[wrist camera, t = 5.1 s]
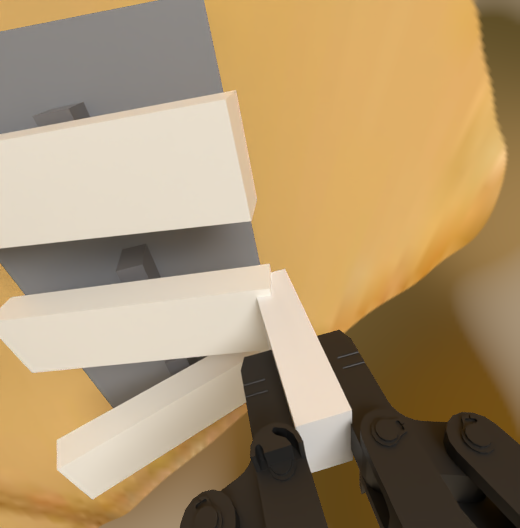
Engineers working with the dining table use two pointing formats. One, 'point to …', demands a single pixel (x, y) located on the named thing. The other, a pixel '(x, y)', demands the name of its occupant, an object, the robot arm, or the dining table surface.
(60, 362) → the bar
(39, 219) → the bar
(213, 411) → the bar
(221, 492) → the robot arm
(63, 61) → the switch panel
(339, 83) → the dining table surface
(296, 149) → the dining table surface
